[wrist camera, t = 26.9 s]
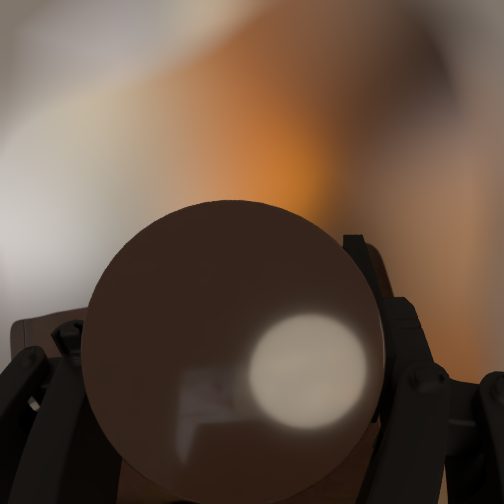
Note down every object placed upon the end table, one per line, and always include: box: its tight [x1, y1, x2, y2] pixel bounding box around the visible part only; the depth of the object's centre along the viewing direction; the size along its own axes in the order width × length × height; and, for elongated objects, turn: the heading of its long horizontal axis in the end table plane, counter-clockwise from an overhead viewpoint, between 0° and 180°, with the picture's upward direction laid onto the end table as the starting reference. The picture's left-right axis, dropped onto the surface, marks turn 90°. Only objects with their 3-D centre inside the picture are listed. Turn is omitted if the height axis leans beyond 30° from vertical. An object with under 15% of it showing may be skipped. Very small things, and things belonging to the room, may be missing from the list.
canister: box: [81, 200, 386, 504], centre depth 9 cm, size 6×6×9 cm
